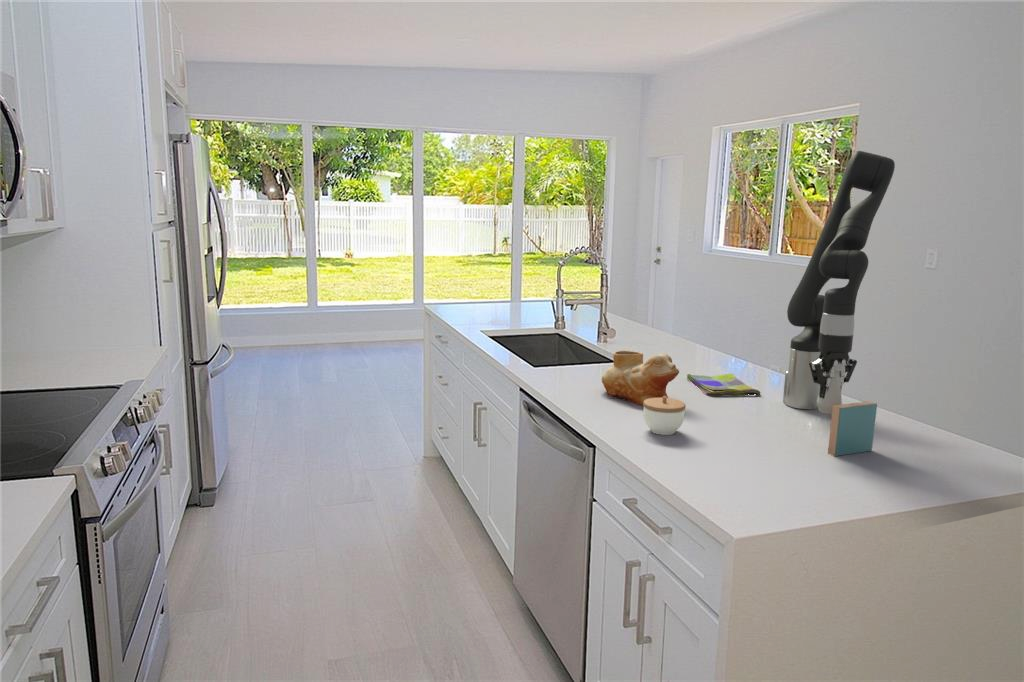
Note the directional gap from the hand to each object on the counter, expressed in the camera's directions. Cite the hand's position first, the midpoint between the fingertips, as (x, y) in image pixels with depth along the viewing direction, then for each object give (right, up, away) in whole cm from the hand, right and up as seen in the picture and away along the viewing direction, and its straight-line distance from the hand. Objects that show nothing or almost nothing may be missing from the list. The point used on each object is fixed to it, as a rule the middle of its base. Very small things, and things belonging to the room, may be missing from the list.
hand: (829, 399), depth 177 cm
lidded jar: (-40, -9, +9) cm, 42 cm away
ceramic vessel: (-40, -3, +41) cm, 58 cm away
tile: (+3, -12, -5) cm, 14 cm away
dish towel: (-10, -1, +56) cm, 57 cm away
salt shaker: (0, -3, +1) cm, 3 cm away
